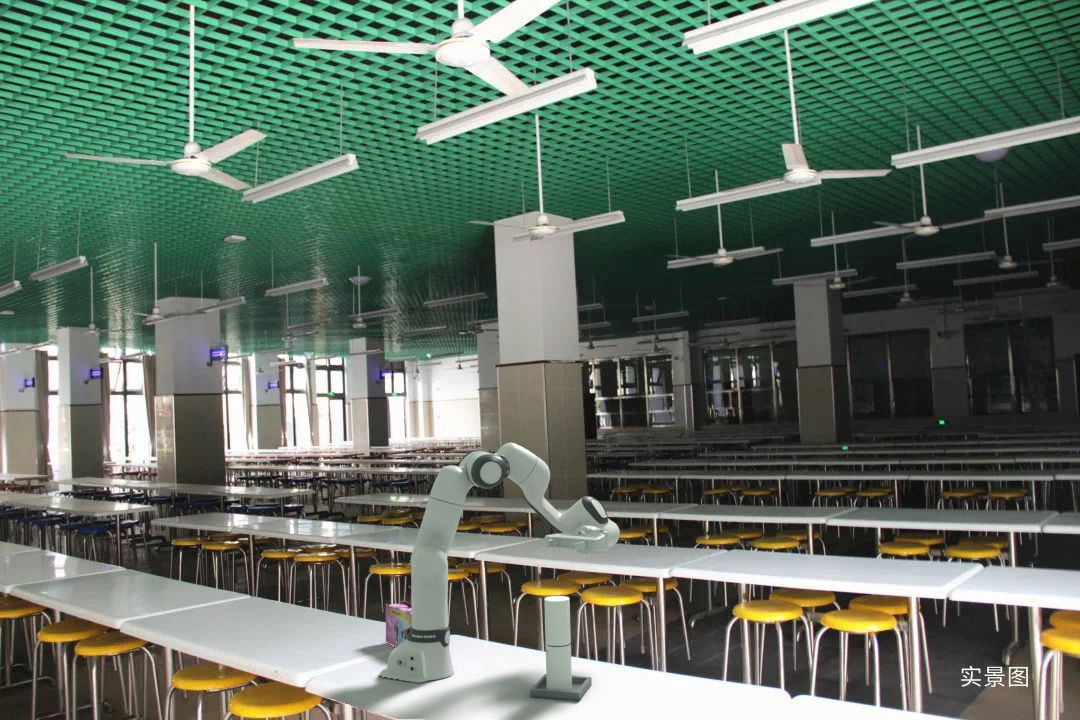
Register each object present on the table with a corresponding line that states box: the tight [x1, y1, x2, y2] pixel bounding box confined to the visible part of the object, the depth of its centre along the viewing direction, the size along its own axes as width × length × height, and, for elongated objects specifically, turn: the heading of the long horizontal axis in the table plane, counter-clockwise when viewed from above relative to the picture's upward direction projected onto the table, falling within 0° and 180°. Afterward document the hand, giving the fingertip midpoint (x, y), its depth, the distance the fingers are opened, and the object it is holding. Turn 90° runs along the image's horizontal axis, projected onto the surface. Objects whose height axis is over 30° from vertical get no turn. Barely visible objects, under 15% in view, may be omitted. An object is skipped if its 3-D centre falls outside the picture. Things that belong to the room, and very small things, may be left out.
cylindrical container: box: [543, 595, 573, 691], centre depth 230 cm, size 7×7×25 cm
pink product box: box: [385, 600, 412, 647], centre depth 280 cm, size 24×8×14 cm, turn 36°
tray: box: [529, 673, 593, 702], centre depth 229 cm, size 14×14×2 cm
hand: (560, 545), depth 249 cm, fingers open, 8 cm apart
